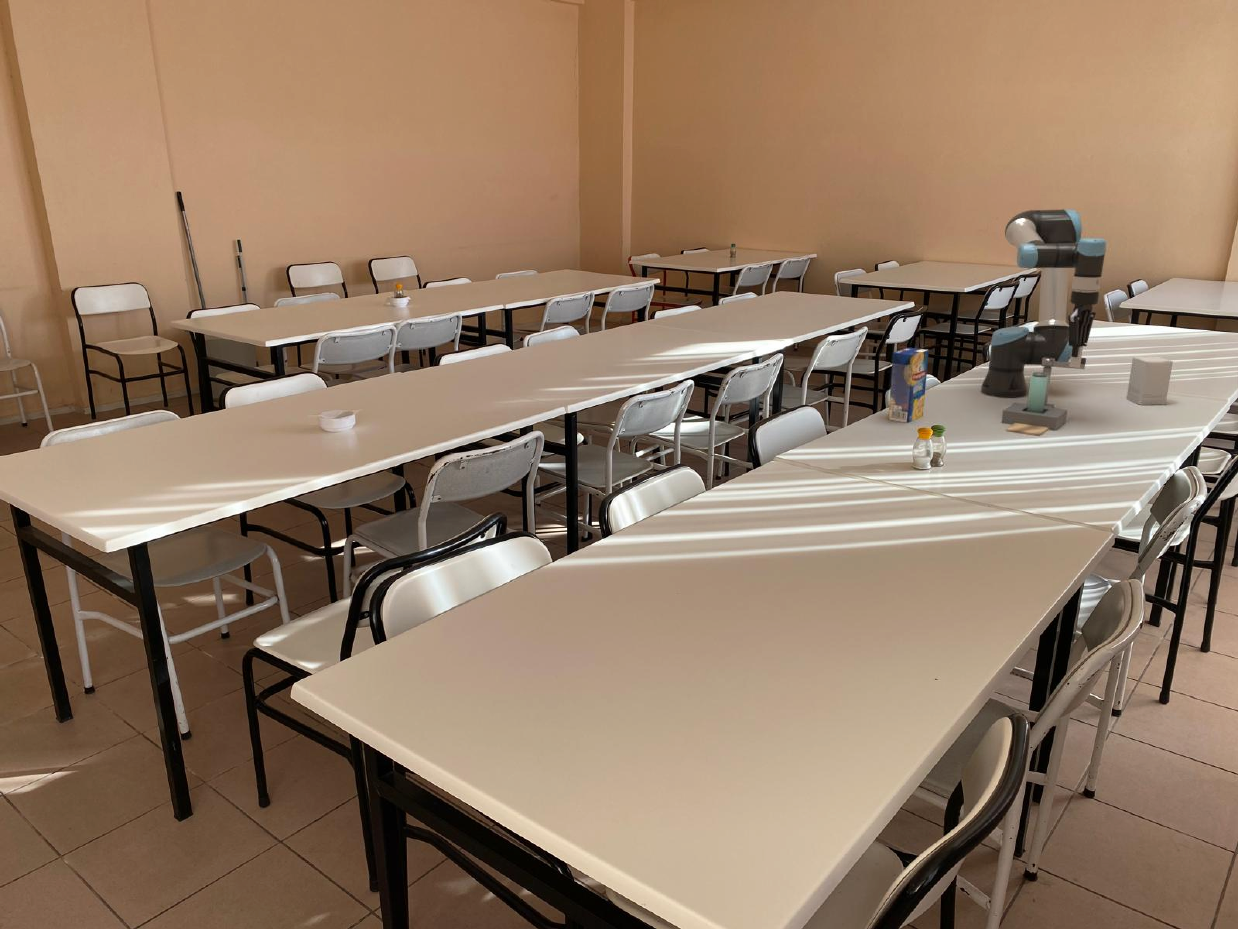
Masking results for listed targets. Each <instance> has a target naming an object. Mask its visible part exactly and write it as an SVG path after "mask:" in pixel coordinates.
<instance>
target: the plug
mask: <svg viewBox="0 0 1238 929" xmlns="http://www.w3.org/2000/svg"><path fill="white" fill-rule="evenodd" d="M1047 379H1048V376H1047V374H1046V373H1043V371H1042V372H1039V371H1035V372H1033V373H1032V374H1031V375H1030V381H1029V390H1028V398H1027V412H1034V413H1042V414H1043V411H1044V403H1045V395H1046V387H1047Z"/></svg>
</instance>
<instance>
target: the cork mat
mask: <svg viewBox="0 0 1238 929" xmlns="http://www.w3.org/2000/svg"><path fill="white" fill-rule="evenodd" d="M1048 430H1049V427H1042V426H1035V425H1028V424H1021V423H1014V424H1010V426H1008V427H1007V428H1005V432H1011V433H1018V434H1022V435H1023V434H1024V435H1031V436H1036V435H1039V436H1038V437H1041V436H1042V435H1043V434H1045V433H1046V432H1047V431H1048ZM1045 431H1046V432H1045ZM1044 432H1045V433H1044ZM1040 435H1041V436H1040Z"/></svg>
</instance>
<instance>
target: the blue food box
mask: <svg viewBox="0 0 1238 929" xmlns="http://www.w3.org/2000/svg"><path fill="white" fill-rule="evenodd" d="M928 361H929V349H923V348H916V347H915V348H913V347H907V348H903V349H901V350H897V351H895V352H894V351H893V352H892V364H891V376H890V378H891V379H890V393H889V403H888V404H889V405H888V417H887V418H888V420H889V421H895V422H902V423H910V422H913V421H915V420H918V419H920V418H922V417H923V416H924V410H925V408H924V407H925V398H926V396H925V395H926V384H927V372H928Z"/></svg>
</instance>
